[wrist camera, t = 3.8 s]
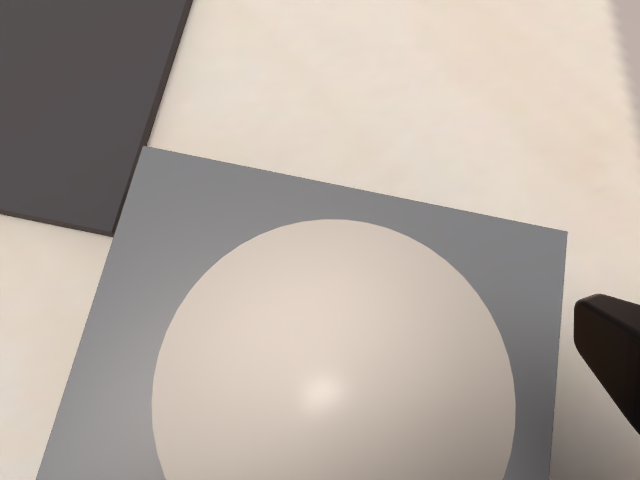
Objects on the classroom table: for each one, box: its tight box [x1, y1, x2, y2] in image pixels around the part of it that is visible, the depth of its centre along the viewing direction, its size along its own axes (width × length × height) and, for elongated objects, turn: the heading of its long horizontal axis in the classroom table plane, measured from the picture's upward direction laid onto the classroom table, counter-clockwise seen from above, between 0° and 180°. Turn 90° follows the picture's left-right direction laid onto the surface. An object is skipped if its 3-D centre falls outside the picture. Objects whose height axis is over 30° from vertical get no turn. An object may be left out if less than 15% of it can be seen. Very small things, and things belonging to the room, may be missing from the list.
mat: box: [0, 0, 193, 237], centre depth 20 cm, size 10×10×1 cm
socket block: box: [36, 146, 567, 480], centre depth 16 cm, size 12×12×3 cm
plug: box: [152, 219, 516, 480], centre depth 12 cm, size 6×6×11 cm
